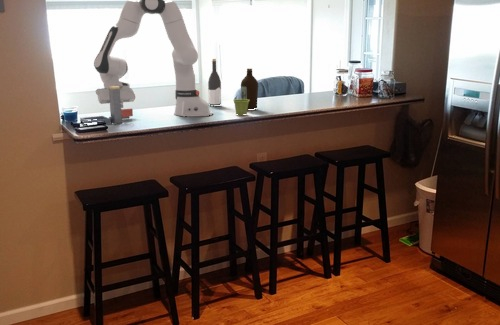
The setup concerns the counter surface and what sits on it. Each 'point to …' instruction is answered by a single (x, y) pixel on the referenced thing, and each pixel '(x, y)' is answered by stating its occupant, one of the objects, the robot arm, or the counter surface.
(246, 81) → the olive oil
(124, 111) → the crank lever
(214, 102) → the wine bottle
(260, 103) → the counter surface
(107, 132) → the counter surface
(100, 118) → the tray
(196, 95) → the robot arm
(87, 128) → the counter surface
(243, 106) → the plant pot
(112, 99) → the pin
